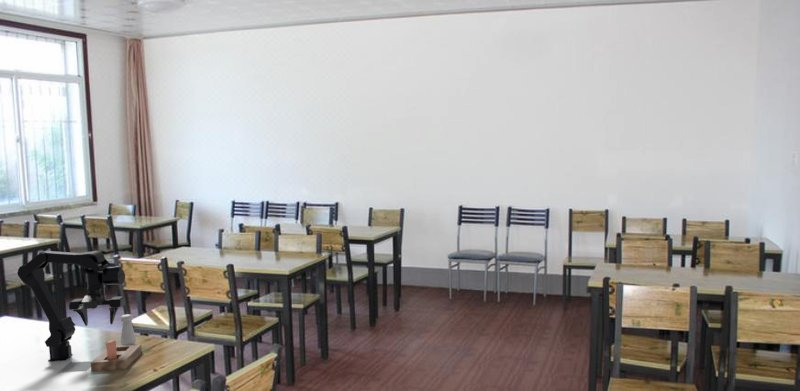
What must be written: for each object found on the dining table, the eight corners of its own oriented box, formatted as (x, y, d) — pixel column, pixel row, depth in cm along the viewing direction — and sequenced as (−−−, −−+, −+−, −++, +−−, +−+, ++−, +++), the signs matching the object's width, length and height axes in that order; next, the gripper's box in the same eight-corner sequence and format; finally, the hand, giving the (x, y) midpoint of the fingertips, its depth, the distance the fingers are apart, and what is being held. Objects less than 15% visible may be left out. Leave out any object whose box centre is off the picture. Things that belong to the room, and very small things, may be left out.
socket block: (91, 372, 222) (90, 362, 221) (110, 354, 239) (109, 346, 239) (125, 369, 223) (125, 360, 222) (141, 352, 240) (141, 344, 240)
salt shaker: (130, 349, 245) (128, 317, 244) (117, 348, 246) (115, 317, 245) (139, 344, 251) (137, 313, 250) (126, 343, 252) (124, 312, 251)
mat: (57, 373, 221) (57, 372, 221) (69, 363, 231) (69, 362, 231) (86, 371, 222) (86, 370, 222) (97, 361, 232) (97, 360, 232)
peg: (106, 367, 225) (104, 343, 224) (109, 364, 228) (108, 340, 227) (115, 366, 225) (113, 342, 224) (118, 363, 228) (117, 340, 227)
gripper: (60, 291, 225) (64, 332, 226) (113, 288, 226) (116, 329, 228) (73, 284, 236) (77, 323, 237) (124, 281, 237) (127, 321, 239)
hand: (99, 324), depth 235 cm, fingers open, 9 cm apart
